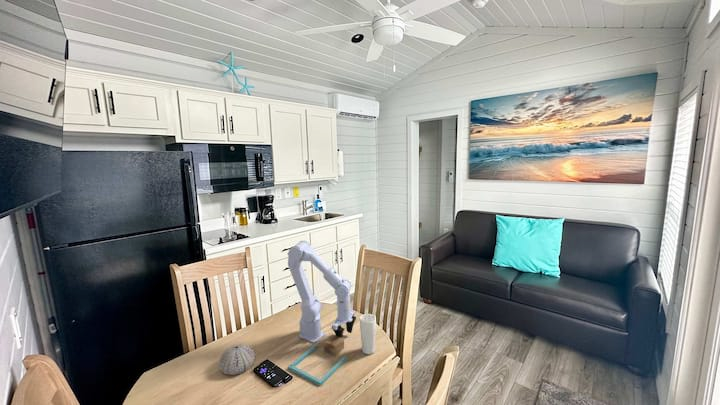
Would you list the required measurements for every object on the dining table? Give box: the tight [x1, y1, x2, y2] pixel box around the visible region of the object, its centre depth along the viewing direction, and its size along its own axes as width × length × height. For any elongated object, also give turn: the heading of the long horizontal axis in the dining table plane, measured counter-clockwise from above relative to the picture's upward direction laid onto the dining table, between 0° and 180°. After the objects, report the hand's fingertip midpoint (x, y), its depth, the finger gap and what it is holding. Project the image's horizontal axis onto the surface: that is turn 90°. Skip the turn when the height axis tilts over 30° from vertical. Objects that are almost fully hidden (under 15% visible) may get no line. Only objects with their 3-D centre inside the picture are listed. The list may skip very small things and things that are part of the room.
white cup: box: [359, 313, 377, 355], centre depth 122 cm, size 7×7×15 cm
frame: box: [287, 343, 347, 387], centre depth 116 cm, size 16×16×1 cm
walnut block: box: [323, 333, 345, 357], centre depth 124 cm, size 6×6×4 cm
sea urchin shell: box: [218, 343, 256, 376], centre depth 116 cm, size 13×14×8 cm
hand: (344, 336), depth 131 cm, fingers open, 7 cm apart
